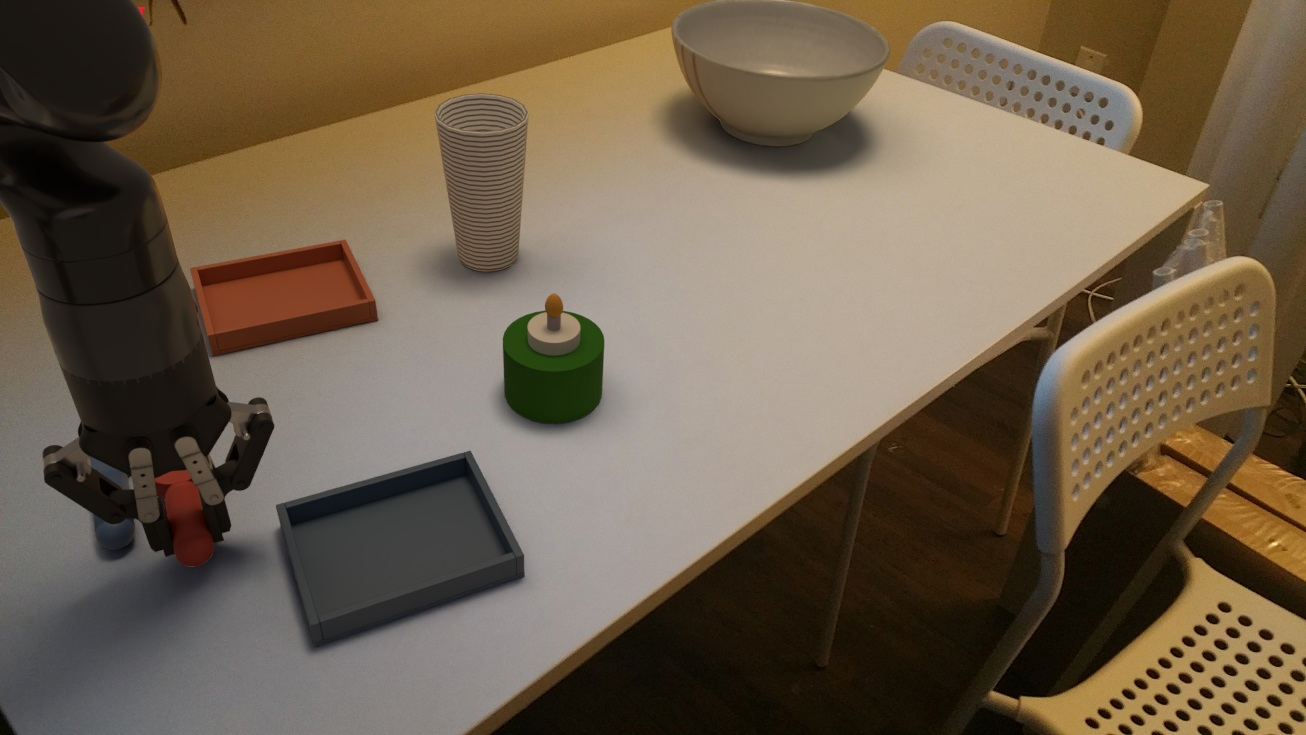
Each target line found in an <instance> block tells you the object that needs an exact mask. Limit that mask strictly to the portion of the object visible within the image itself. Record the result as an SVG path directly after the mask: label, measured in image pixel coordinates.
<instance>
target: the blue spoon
mask: <svg viewBox="0 0 1306 735" xmlns="http://www.w3.org/2000/svg"><path fill="white" fill-rule="evenodd" d="M89 458H90V463H91V467H93V468H94V469H95V470H97V471H98V472H100V473H101V474H103V475H104V476H106V477H107V478H109V479H110V480H112V481H113V482H114V483H116V484H117V485H119V486H120V487H121V488H122V490H128V489H131V488H130V482H129V477H131V476H130V475H127V474H125V473H123V472H121V471H119V470H117V469H115V468H113V467H111V466H109V465H107V464H105V463H103V462H101V461H99V460H96V459H94V458H92V457H90V456H89ZM92 515H93V516H92V517H93V525H94V534H95V535H94V536H95V539H96V541H97V543H98V544H99V545H100V546H101V547H103V548H105V549H107V550H108V549H109V550H120V549H123V548H124V547H127V546H128V545H129V544H131V542H132V541H133V539H134V537H135V534H136V526H135V525H136V524H135V519H133V518H126V519H125V520H124V521H123V522H121V523H119V524H109V523H107V522H105V521H104V520H102V519H100V518H99V517H97V516H96V515H94V514H93V513H92Z"/></svg>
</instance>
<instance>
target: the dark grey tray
mask: <svg viewBox="0 0 1306 735" xmlns="http://www.w3.org/2000/svg"><path fill="white" fill-rule="evenodd" d="M275 509H276V513H277V517H278V522H279V525H280V529H281V532H282V537H283V539H284V543H285V546H286V550H287V554H288V557H289V560H290V564H291V568H292V571H293V574H294V578H295V581H296V585H297V588H298V592H299V595H300V599H301V603H302V606H303V610H304V613H305V616H306V620H307V624H308V627H309V631H310V635H311V638H312V641H313V645H314V647H319V646H322V645H324V644H328V643H331V642H333V641H336V640H340V639H342V638H343V639H344V638H346V637H348V636H351V635H354V634H357V633H360V632H363V631H366V630H369V629H372V628H375V627H377V626H381V625H384V624H387V623H390V622H393V621H396V620H398V619H399V620H400V619H401V618H405V617H408V616H410V615H413V614H417V613H418V612H422V611H425V610H428V609H430V608H433V607H437V606H440V605H442V604H446V603H448V602H452V601H454V600H457V599H460V598H463V597H466V596H469V595H472V594H475V593H478V592H481V591H484V590H487V589H490V588H492V587H496V586H498V585H501V584H504V583H508V582H511V581H513V580H516V579H519V578H522V577H525V575H526V574H525V573H526V572H525V553H524V552H523V549H522V548H521V546H520V544H519V542H518V540H517V538H516V536H515V534H514V532H513V531H512V529H511V526H510V525H509V523H508V520H507V519H506V517H505V515H504V513H503V511H502V510H501V508H500V505H499V504H498V501H497V499H496V497H495V495H494V494H493V491H492V489H491V487H490V486H489V484H488V482H487V480H486V478H485V476H484V474H483V472H482V470H481V468H480V466H479V464H478V463H477V461H476V459H475V456H474V454H473V453H472V451H471V450H467V451H464V452H460V453H457V454H453V455H449V456H446V457H442V458H438V459H435V460H432V461H431V460H430V461H428V462H424V463H421V464H417V465H414V466H410V467H406V468H403V469H399V470H396V471H392V472H388V473H385V474H380V475H377V476H374V477H371V478H367V479H364V480H359V481H356V482H351V483H349V484H346V485H342V486H338V487H335V488H332V489H331V488H330V489H328V490H324V491H321V492H317V493H313V494H309V495H306V496H302V497H299V498H295V499H292V500H289V501H285V502H281V503H277V504H275Z"/></svg>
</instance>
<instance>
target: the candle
mask: <svg viewBox="0 0 1306 735" xmlns="http://www.w3.org/2000/svg"><path fill="white" fill-rule="evenodd" d="M502 360H503V361H502V362H503V388H504V398H505V402H506V403H507V405H508V406H509V408H510V409H511V410H512V411H513V412H515V413H516V414H517V415H519V416H521V417H523V418H525V419H527V420H529V421H532V422H535V423H541V424H554V425H555V424H564V423H565V424H566V423H570V422H574V421H577V420H580V419H582V418H584V417H586V416H588V415H590V414H591V413H592V412H593V411H595V410H596V408H597V407H598V405H599V404H600V402H601V399H602V397H603V396H602V395H603V382H604V381H603V380H604V362H605V361H604V360H605V336H604V333H603V331H602V329H601V328H600V327H599V326H598V324H596V323H595V322H594V321H592V320H591V319H590V318H588V317H586V316H584V315H581V314H579V313H575V312H573V311H567V310H564V304H563V301H562V298H561V297H560V295H558V294H557V293H554V292H553V293H551V294H549V295H548V296H547V298H546V300H545V303H544V310H540V311H534V312H531V313H527V314H525V315H522V316H521V317H518V318H517V319H514V321H512V322H511V323H510V324H509V325H508V326H507V327H506V329H505V331H504V332H503V336H502Z"/></svg>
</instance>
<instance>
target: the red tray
mask: <svg viewBox="0 0 1306 735" xmlns="http://www.w3.org/2000/svg"><path fill="white" fill-rule="evenodd" d="M189 271H190V275H191V279H192V282H193V286H194V290H195V295H196V298H197V301H198V305H199V310H200V313H201V317H202V321H203V325H204V329H205V333H206V336H207V340H208V343H209V346H210V351H211V355H212V356H213V357H214V356H219V355H223V354H227V353H233V352H237V351H242V350H246V349H252V348H255V347H260V346H265V345H269V344H273V343H279V342H282V341H283V342H284V341H287V340H292V339H297V338H302V337H306V336H311V335H315V334H320V333H324V332H328V331H333V330H337V329H343V328H347V327H352V326H357V325H361V324H365V323H366V324H367V323H369V322H376V321H378V320H379V317H378V309H377V302H376V299H375V296H374V295H373V292H372V290H371V288H370V286H369V283H368V282H367V280H366V278H365V276H364V274H363V272H362V270H361V268H360V265H359V264H358V261H357V260H356V258H355V255H354V254H353V251H352V249H351V247H350V245H349V244H348V240H347V239H340V240H336V241H329V242H324V243H318V244H314V245H309V246H303V247H297V248H292V249H287V250H281V251H275V252H270V253H264V254H259V255H253V256H247V257H242V258H238V259H232V260H227V261H221V262H216V263H210V264H205V265H200V266H193V267H190V268H189Z"/></svg>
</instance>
